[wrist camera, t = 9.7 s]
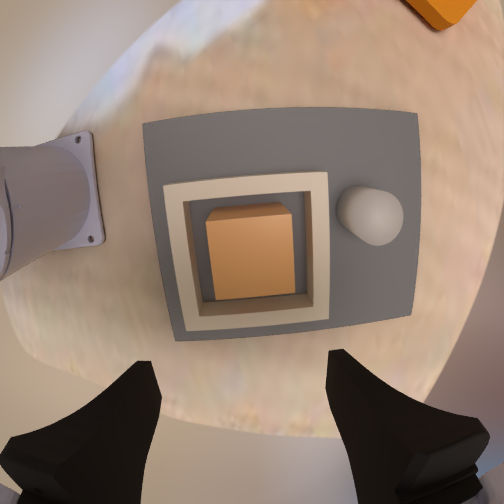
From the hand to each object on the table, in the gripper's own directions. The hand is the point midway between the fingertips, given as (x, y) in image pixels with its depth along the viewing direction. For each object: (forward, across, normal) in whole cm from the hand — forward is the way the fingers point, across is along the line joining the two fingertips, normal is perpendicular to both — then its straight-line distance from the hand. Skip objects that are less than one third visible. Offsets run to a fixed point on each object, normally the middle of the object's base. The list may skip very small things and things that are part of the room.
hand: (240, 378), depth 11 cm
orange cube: (+9, -1, -4) cm, 10 cm away
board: (+10, -4, -4) cm, 11 cm away
